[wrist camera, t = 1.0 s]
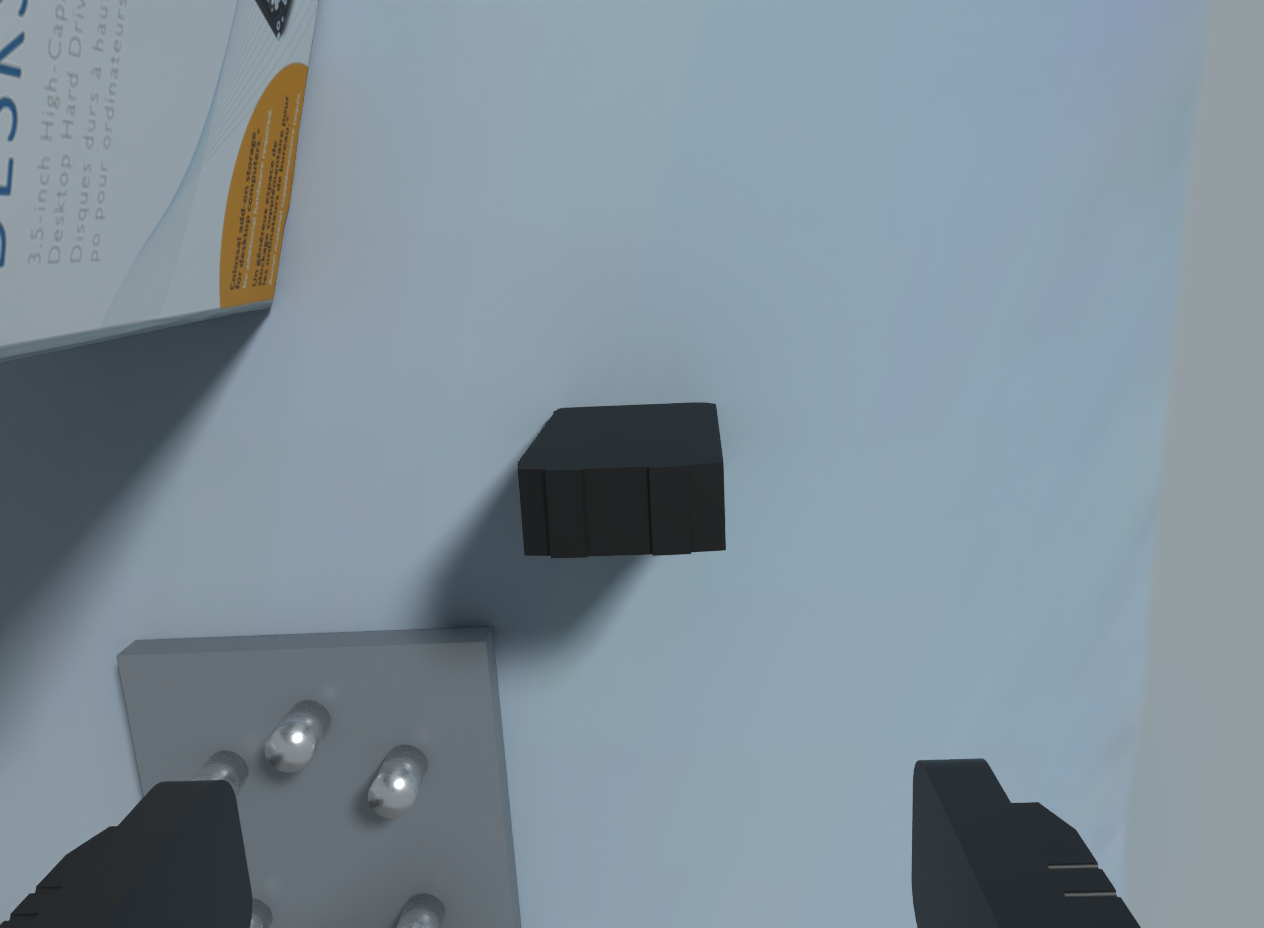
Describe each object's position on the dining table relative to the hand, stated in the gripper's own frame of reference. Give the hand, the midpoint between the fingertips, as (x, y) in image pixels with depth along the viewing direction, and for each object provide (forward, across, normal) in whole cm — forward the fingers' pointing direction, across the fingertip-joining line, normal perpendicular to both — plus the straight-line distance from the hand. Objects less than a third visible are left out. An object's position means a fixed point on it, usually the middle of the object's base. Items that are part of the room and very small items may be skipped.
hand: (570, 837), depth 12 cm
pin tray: (+20, +11, +13) cm, 26 cm away
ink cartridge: (+20, 0, 0) cm, 20 cm away
